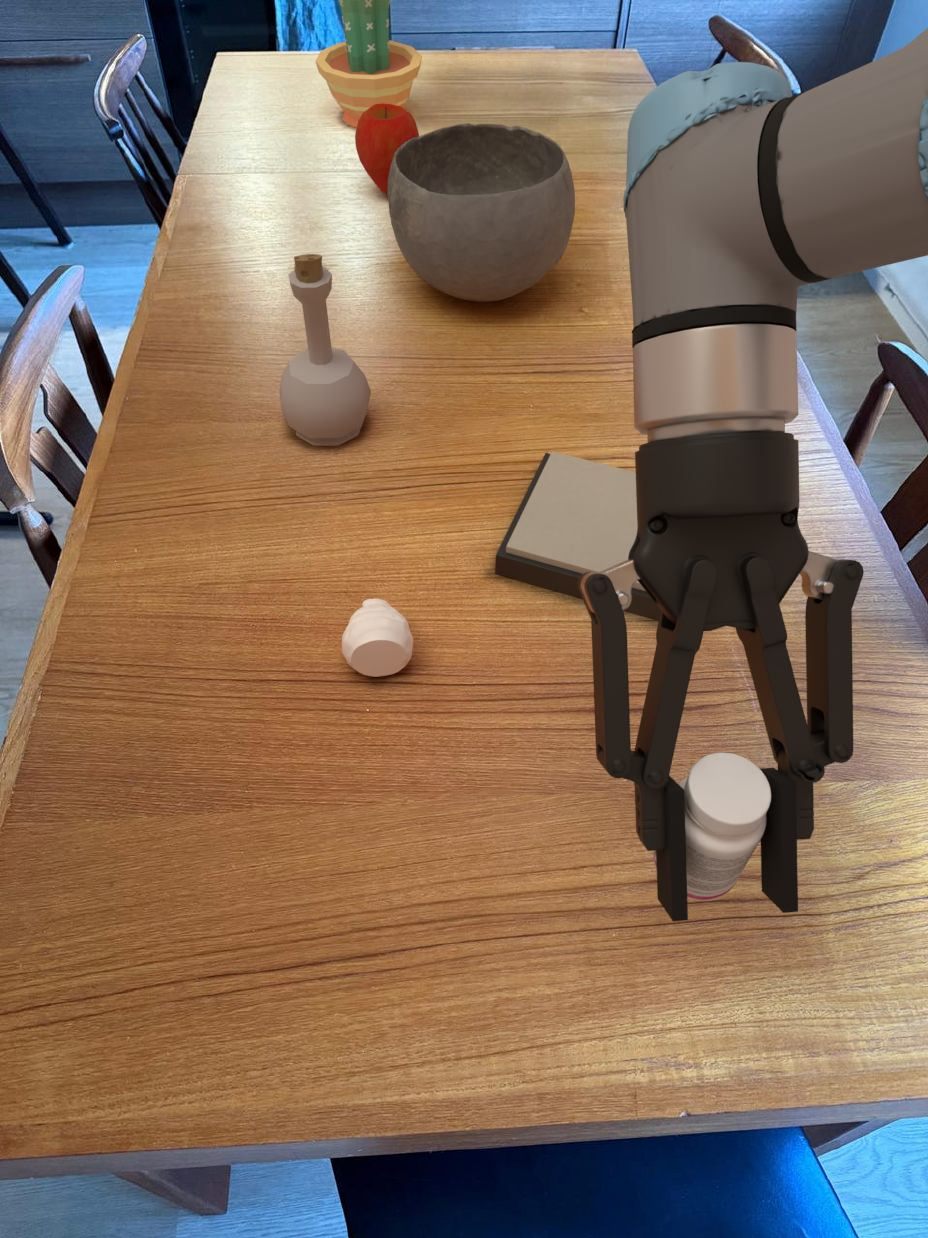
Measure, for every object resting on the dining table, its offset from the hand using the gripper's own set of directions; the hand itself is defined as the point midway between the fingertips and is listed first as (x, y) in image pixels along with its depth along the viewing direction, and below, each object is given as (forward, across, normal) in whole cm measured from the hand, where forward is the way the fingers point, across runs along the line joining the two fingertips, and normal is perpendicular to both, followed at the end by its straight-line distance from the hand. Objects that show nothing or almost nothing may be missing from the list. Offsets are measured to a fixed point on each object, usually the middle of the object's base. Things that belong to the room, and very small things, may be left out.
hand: (726, 904), depth 45 cm
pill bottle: (0, 0, -5) cm, 5 cm away
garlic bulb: (-10, +18, -29) cm, 35 cm away
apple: (-65, +15, -83) cm, 106 cm away
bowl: (-48, +5, -66) cm, 82 cm away
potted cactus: (-82, +17, -100) cm, 130 cm away
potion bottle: (-30, +22, -49) cm, 62 cm away
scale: (-18, -2, -36) cm, 40 cm away
